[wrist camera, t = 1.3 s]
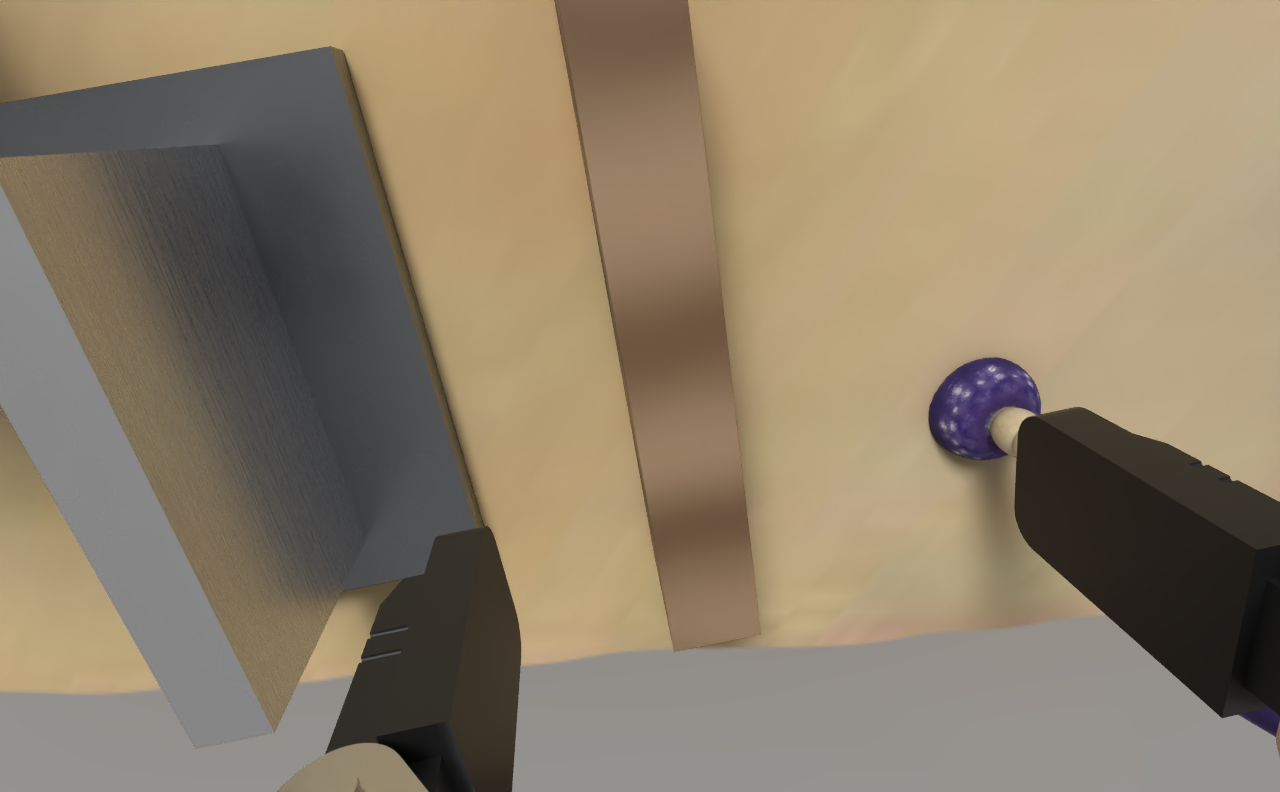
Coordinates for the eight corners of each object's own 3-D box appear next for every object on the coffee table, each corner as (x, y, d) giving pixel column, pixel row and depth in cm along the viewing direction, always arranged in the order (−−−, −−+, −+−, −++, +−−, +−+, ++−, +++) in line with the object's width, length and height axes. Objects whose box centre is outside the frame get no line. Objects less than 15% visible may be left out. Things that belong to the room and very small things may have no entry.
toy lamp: (925, 473, 29) (1350, 884, 13) (903, 374, 27) (1365, 716, 11) (1036, 432, 28) (1599, 802, 13) (1021, 331, 27) (1654, 617, 11)
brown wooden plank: (543, -62, 21) (535, -129, 15) (642, -78, 21) (670, -151, 15) (653, 550, 29) (674, 651, 23) (723, 536, 29) (761, 634, 23)
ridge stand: (342, 50, 21) (166, -8, 12) (489, 545, 28) (451, 756, 18) (8, 108, 21) (-449, 96, 11) (239, 594, 27) (73, 835, 18)
